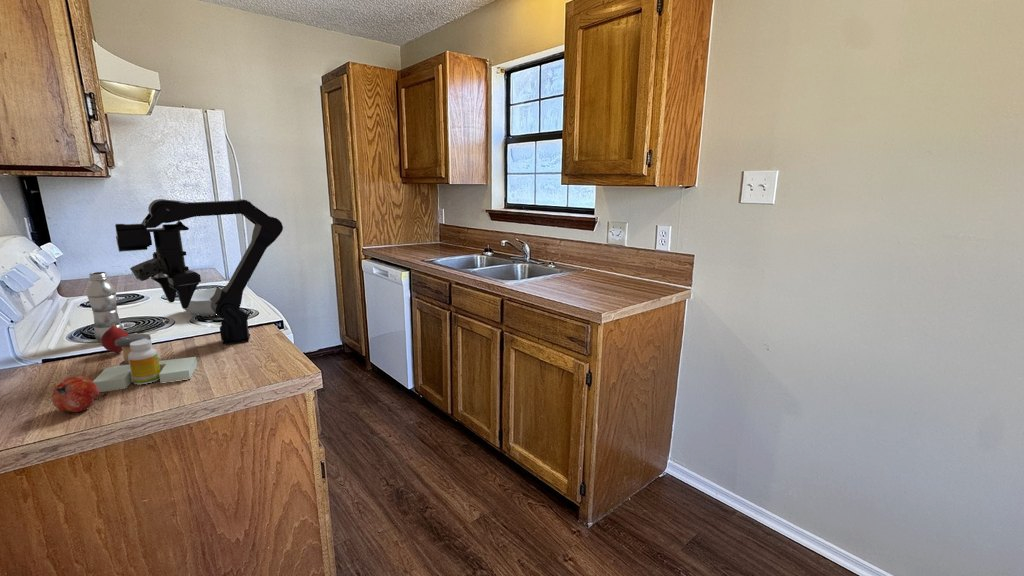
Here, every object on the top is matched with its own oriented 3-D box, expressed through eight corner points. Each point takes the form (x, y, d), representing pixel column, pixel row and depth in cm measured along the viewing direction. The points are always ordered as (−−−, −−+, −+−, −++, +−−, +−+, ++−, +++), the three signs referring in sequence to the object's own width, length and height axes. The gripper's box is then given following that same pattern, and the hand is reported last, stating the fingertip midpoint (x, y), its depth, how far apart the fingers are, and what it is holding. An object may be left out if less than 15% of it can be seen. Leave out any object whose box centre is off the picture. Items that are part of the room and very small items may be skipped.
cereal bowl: (170, 318, 155) (166, 298, 153) (209, 305, 171) (206, 286, 169) (214, 322, 152) (211, 301, 150) (250, 308, 168) (248, 289, 166)
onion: (116, 358, 122) (110, 329, 120) (98, 355, 123) (92, 327, 121) (137, 350, 128) (132, 322, 126) (120, 348, 129) (115, 320, 127)
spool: (157, 357, 123) (153, 332, 121) (150, 367, 117) (145, 341, 115) (125, 361, 120) (120, 335, 119) (115, 371, 114) (110, 345, 112)
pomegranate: (75, 411, 100) (26, 403, 91) (94, 378, 102) (49, 367, 93) (103, 419, 98) (56, 412, 89) (122, 385, 101) (78, 375, 92)
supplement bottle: (164, 380, 110) (157, 342, 108) (135, 387, 106) (127, 348, 104) (158, 373, 113) (152, 336, 111) (131, 380, 110) (123, 342, 107)
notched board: (197, 365, 118) (196, 356, 118) (190, 380, 110) (188, 370, 110) (108, 376, 111) (106, 367, 111) (94, 392, 103) (91, 382, 103)
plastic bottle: (92, 346, 130) (78, 276, 125) (100, 338, 136) (86, 271, 131) (121, 342, 133) (108, 274, 128) (127, 335, 138) (115, 270, 134)
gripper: (119, 247, 120) (129, 305, 124) (144, 256, 110) (155, 319, 114) (169, 243, 129) (177, 297, 133) (197, 250, 119) (205, 309, 122)
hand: (178, 305), depth 125 cm, fingers open, 9 cm apart
